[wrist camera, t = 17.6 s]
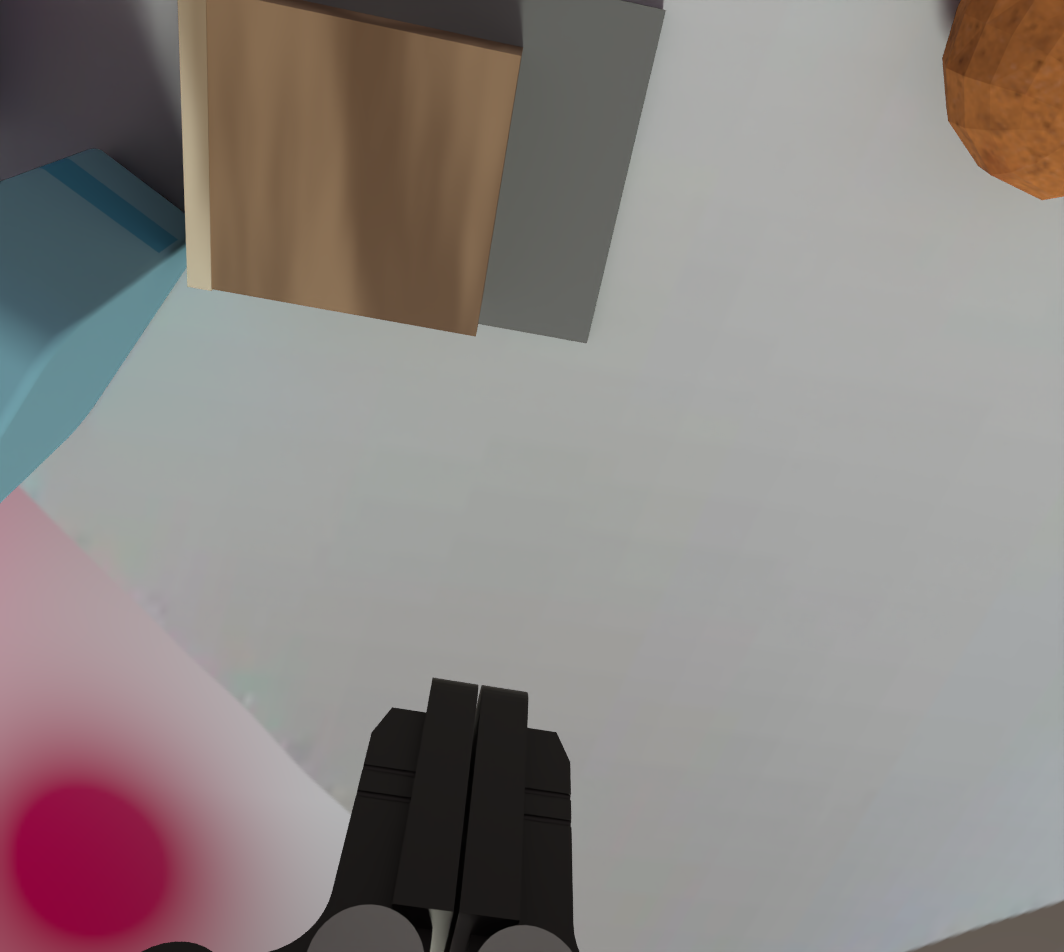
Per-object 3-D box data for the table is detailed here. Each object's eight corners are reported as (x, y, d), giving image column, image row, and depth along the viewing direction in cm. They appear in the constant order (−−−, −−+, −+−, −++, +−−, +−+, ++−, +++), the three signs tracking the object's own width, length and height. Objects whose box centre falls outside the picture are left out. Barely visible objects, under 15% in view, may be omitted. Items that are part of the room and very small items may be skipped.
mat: (663, 9, 27) (665, 10, 27) (585, 337, 33) (586, 343, 33) (275, -76, 26) (270, -77, 26) (269, 280, 32) (264, 285, 32)
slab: (521, 54, 24) (176, -20, 23) (475, 338, 29) (187, 286, 28) (523, 45, 27) (224, -19, 27) (482, 299, 32) (226, 252, 31)
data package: (110, 137, 30) (-117, 218, 19) (218, 220, 31) (61, 336, 21) (-19, 364, 34) (-256, 524, 24) (81, 426, 36) (-102, 602, 26)
